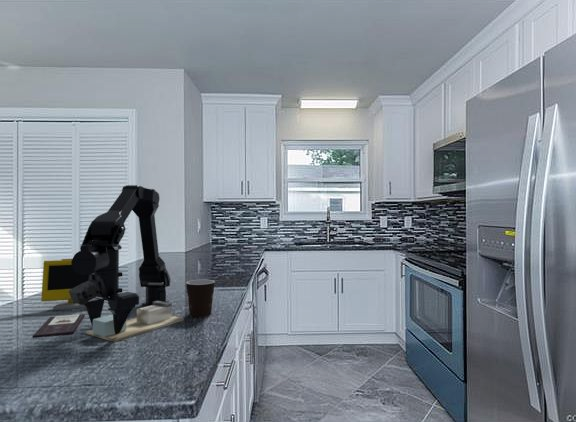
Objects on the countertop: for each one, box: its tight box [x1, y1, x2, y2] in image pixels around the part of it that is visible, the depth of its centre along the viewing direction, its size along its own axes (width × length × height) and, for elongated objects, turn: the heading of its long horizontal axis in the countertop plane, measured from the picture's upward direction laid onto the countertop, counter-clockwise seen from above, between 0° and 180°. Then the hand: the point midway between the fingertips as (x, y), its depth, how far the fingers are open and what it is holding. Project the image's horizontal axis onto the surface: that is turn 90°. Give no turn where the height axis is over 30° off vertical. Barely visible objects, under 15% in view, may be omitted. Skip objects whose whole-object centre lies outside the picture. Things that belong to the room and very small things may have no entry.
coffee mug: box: [185, 279, 216, 318], centre depth 118 cm, size 12×9×10 cm
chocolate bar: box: [32, 313, 86, 339], centre depth 104 cm, size 9×1×18 cm
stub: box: [92, 313, 126, 337], centre depth 97 cm, size 5×6×4 cm
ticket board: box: [85, 301, 185, 343], centre depth 104 cm, size 12×22×5 cm, turn 149°
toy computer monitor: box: [40, 258, 90, 311], centre depth 127 cm, size 20×8×16 cm, turn 114°
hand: (106, 330), depth 96 cm, fingers open, 9 cm apart
